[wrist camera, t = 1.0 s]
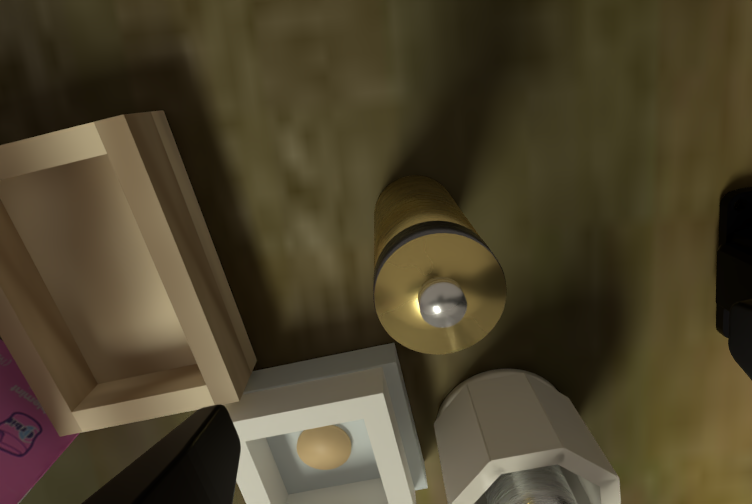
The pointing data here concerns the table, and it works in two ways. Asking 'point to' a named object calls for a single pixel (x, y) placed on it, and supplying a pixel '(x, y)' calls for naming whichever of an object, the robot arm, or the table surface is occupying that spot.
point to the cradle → (329, 432)
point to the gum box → (23, 434)
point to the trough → (114, 278)
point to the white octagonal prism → (517, 438)
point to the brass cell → (432, 270)
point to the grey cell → (531, 487)
